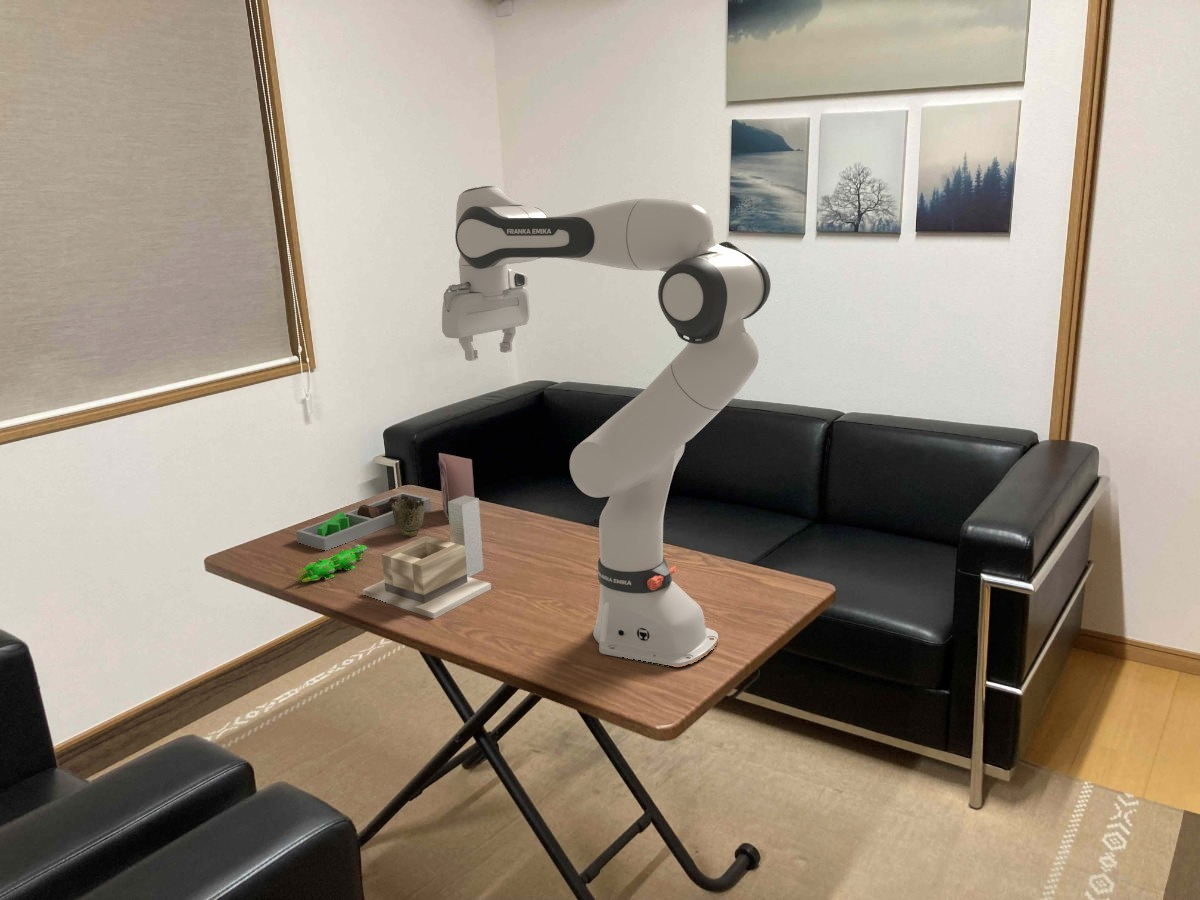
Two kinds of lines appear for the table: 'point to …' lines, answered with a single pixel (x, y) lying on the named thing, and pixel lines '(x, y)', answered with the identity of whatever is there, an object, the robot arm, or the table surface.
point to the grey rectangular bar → (467, 530)
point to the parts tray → (353, 526)
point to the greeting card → (455, 478)
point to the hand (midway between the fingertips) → (489, 356)
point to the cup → (408, 516)
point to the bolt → (378, 508)
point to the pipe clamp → (334, 525)
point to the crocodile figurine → (332, 564)
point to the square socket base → (426, 578)
